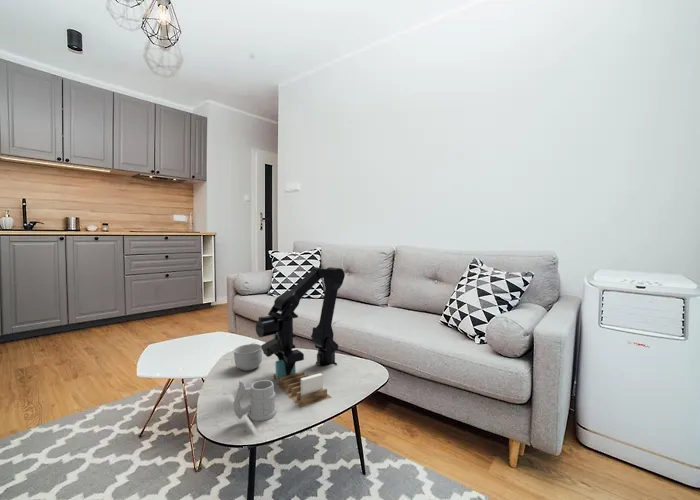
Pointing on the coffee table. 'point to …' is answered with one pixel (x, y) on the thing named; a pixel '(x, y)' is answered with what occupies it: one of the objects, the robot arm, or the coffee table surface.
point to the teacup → (248, 356)
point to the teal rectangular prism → (282, 369)
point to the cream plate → (311, 384)
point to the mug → (256, 400)
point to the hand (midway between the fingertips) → (285, 373)
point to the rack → (293, 390)
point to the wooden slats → (278, 378)
